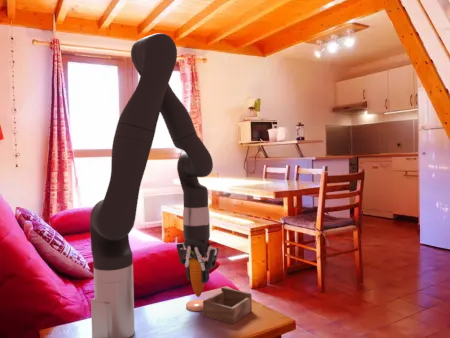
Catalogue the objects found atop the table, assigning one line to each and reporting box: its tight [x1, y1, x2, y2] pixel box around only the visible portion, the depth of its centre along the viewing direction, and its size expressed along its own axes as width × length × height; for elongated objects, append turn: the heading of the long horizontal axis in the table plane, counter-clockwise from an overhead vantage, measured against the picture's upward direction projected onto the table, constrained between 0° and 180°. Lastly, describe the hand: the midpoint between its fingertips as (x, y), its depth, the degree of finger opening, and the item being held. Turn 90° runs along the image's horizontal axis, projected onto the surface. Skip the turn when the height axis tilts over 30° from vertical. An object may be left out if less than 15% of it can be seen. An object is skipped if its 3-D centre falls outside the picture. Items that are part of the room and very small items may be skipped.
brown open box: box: [202, 286, 253, 325], centre depth 103 cm, size 10×10×5 cm
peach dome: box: [185, 298, 206, 312], centre depth 109 cm, size 7×7×1 cm
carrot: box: [189, 250, 206, 298], centre depth 108 cm, size 5×5×15 cm
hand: (197, 280), depth 108 cm, fingers closed on carrot, 4 cm apart
